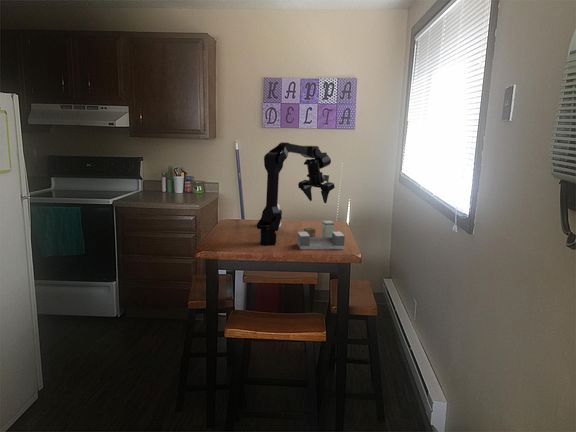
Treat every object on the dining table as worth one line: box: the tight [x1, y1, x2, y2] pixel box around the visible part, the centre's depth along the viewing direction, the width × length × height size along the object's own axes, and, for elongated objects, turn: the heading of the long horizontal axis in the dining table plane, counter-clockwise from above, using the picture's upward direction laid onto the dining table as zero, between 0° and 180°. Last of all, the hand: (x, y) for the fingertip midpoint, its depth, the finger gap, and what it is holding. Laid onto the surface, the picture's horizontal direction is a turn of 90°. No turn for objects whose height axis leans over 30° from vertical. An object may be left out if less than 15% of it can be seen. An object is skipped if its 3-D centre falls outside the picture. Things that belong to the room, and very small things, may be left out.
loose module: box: [321, 220, 335, 237], centre depth 202 cm, size 4×5×9 cm
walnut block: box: [303, 227, 316, 237], centre depth 210 cm, size 4×4×4 cm
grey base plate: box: [296, 236, 345, 250], centre depth 192 cm, size 19×10×3 cm, turn 97°
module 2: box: [332, 231, 346, 246], centre depth 192 cm, size 4×8×4 cm, turn 7°
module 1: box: [297, 231, 310, 246], centre depth 190 cm, size 4×8×4 cm, turn 7°
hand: (318, 201), depth 217 cm, fingers open, 9 cm apart
